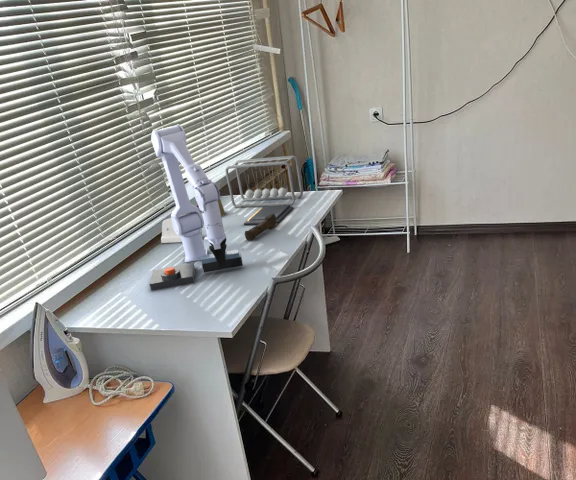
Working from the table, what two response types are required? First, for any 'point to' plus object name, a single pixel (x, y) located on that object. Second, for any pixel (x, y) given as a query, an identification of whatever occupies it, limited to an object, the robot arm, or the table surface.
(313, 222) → the table surface
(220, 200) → the cork
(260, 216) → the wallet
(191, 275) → the control box
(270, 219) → the hand tool
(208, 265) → the black and grey bar
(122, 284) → the table surface
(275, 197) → the newton's cradle
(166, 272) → the button
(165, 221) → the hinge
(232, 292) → the table surface
